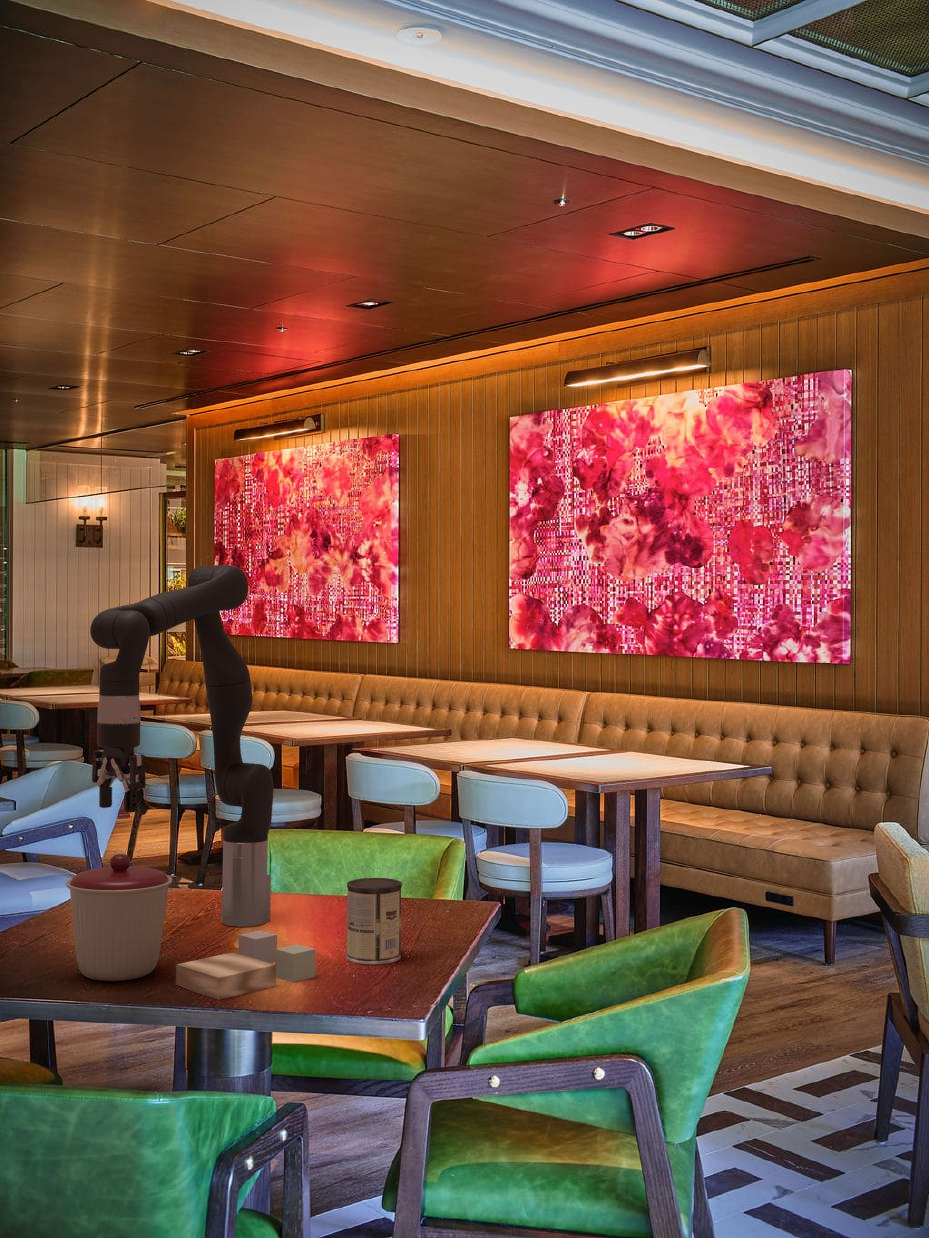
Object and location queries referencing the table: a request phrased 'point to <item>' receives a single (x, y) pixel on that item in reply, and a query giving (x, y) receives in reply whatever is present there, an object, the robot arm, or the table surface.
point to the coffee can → (373, 920)
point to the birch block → (226, 975)
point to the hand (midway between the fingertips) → (117, 809)
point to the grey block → (258, 945)
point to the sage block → (295, 963)
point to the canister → (118, 919)
